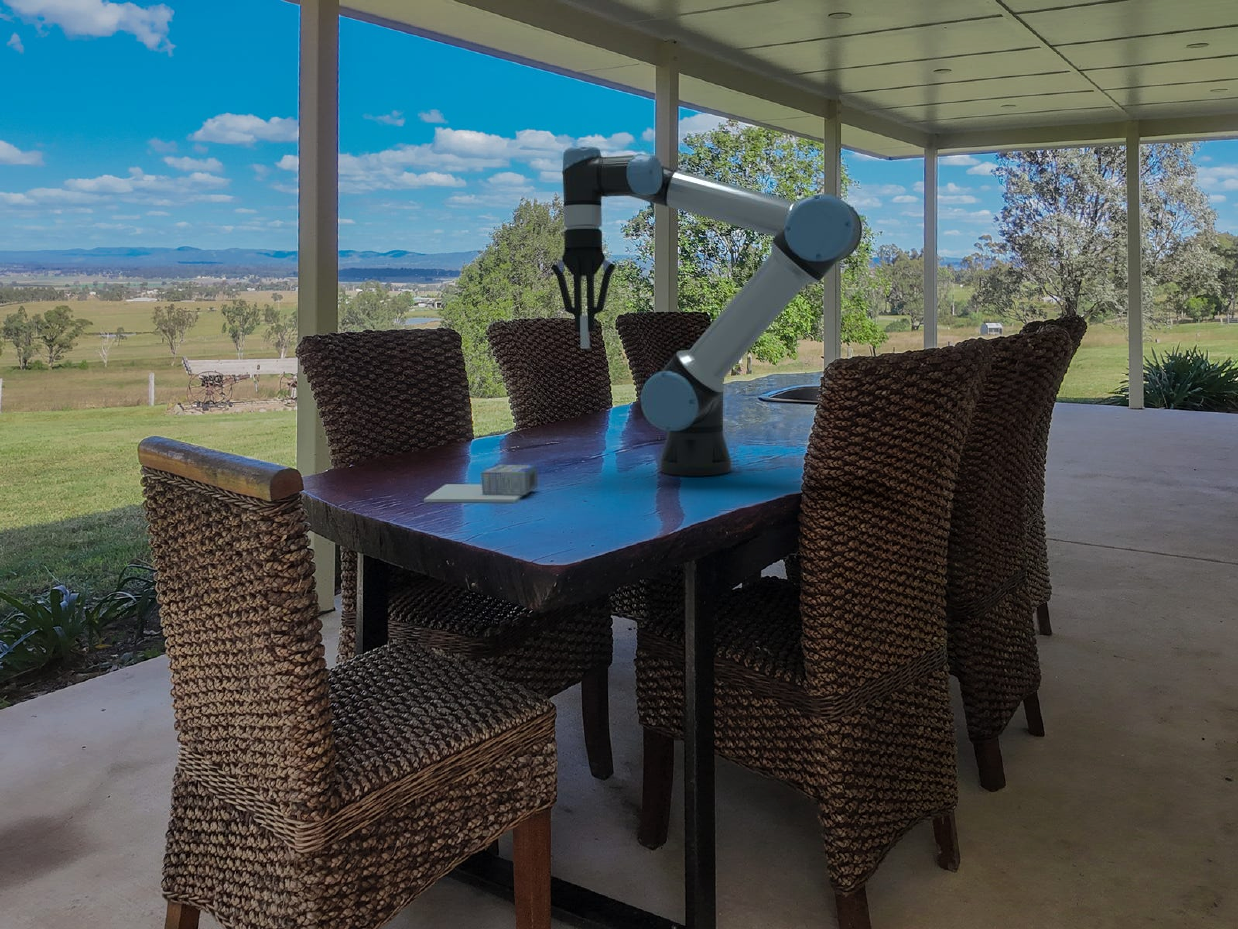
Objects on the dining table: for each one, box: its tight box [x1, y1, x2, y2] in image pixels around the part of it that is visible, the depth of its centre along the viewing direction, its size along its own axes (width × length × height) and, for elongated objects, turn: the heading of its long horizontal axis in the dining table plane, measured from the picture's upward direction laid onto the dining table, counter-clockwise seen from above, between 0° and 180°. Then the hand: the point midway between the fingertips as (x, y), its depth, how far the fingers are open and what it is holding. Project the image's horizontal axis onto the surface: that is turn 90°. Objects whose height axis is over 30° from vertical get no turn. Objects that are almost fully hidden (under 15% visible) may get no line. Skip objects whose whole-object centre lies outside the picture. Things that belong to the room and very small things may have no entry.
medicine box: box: [481, 464, 538, 496], centre depth 191 cm, size 8×4×9 cm
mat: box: [423, 483, 524, 504], centre depth 192 cm, size 17×15×1 cm
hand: (585, 348), depth 205 cm, fingers closed
